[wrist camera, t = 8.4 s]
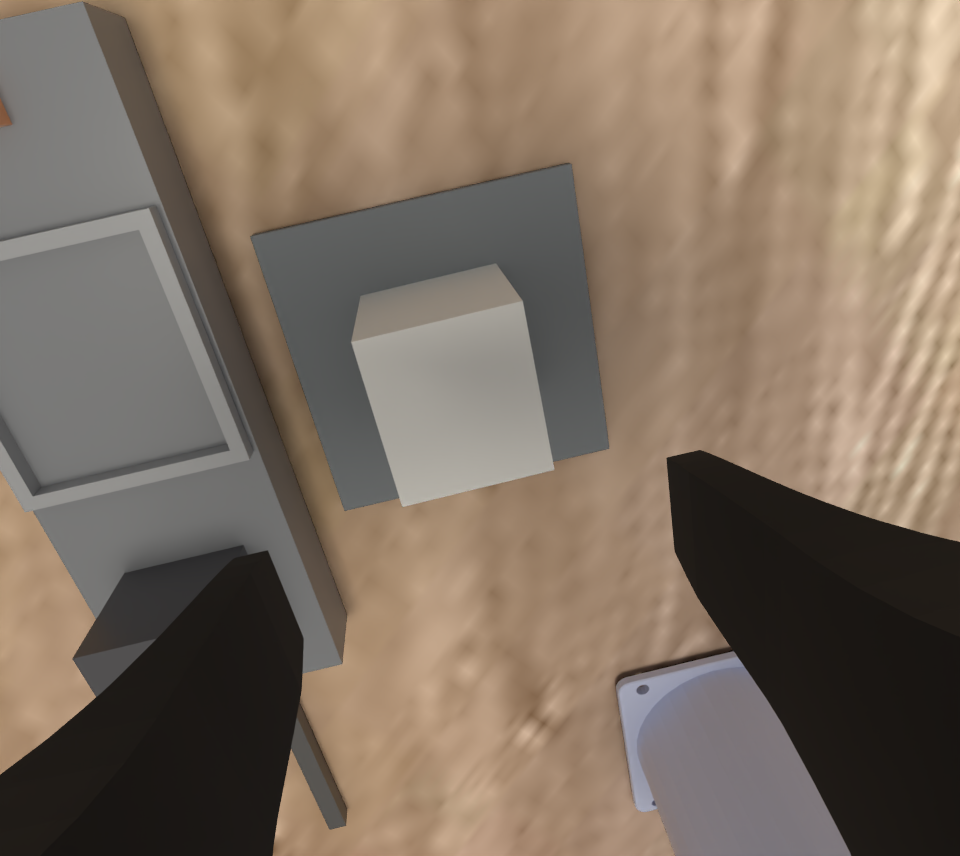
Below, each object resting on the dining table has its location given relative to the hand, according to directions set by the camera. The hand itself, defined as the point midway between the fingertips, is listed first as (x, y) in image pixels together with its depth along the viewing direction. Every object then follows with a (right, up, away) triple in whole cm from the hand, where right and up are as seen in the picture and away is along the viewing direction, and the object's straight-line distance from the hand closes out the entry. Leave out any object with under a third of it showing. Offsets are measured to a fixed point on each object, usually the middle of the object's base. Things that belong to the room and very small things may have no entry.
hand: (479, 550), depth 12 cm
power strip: (-9, -1, +10) cm, 14 cm away
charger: (-1, +4, +8) cm, 10 cm away
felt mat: (-1, +5, +9) cm, 10 cm away
